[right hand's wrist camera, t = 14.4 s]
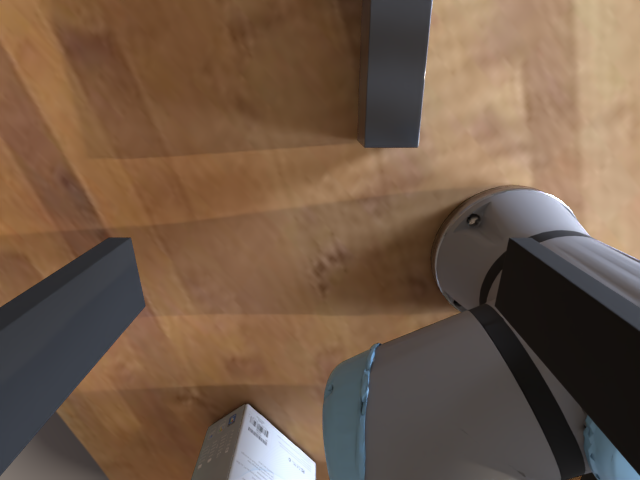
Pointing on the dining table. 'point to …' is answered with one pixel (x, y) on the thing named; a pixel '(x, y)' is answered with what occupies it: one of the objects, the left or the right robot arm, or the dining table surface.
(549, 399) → the right robot arm
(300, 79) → the dining table surface
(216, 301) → the dining table surface
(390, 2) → the rail
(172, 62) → the dining table surface
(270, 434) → the hard drive box
